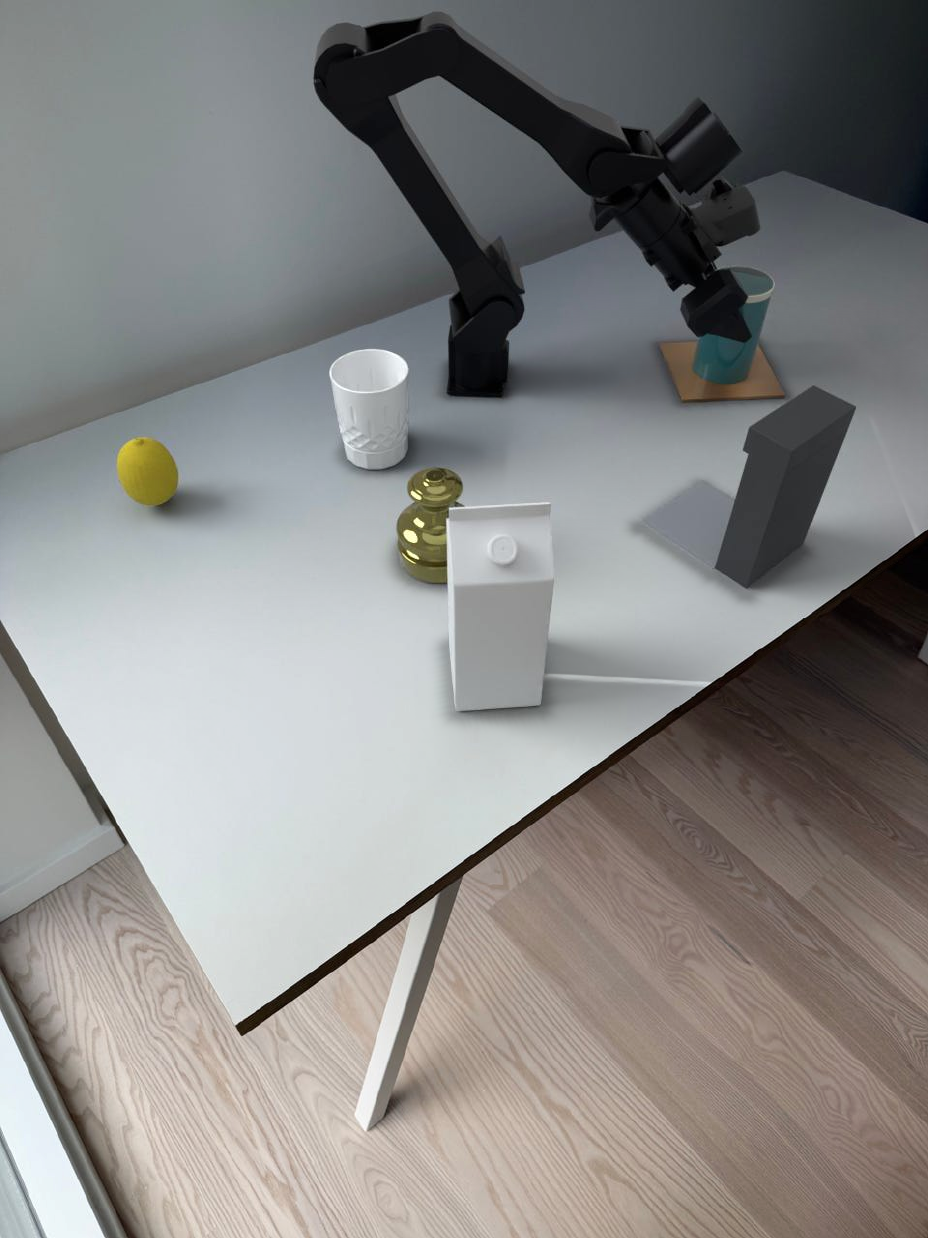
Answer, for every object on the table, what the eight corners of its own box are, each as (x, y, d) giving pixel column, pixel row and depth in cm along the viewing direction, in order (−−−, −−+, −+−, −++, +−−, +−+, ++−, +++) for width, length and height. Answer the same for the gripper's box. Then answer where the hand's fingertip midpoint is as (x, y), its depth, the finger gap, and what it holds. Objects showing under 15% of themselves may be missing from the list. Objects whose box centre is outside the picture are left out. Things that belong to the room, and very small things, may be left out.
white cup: (402, 478, 93) (397, 396, 86) (330, 468, 94) (319, 387, 87) (420, 433, 98) (416, 353, 91) (351, 425, 99) (342, 344, 92)
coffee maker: (639, 527, 88) (668, 384, 76) (701, 485, 92) (737, 344, 80) (742, 596, 82) (790, 452, 70) (803, 548, 86) (859, 404, 74)
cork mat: (682, 402, 102) (683, 399, 102) (659, 345, 110) (660, 342, 110) (784, 397, 103) (785, 394, 103) (754, 341, 111) (755, 339, 111)
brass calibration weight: (419, 595, 82) (414, 513, 75) (386, 546, 86) (378, 464, 79) (489, 569, 84) (492, 487, 77) (454, 522, 89) (453, 440, 81)
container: (732, 391, 103) (755, 303, 95) (680, 369, 106) (698, 282, 98) (761, 366, 107) (786, 278, 98) (710, 345, 110) (730, 258, 101)
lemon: (196, 492, 92) (177, 428, 86) (167, 526, 88) (145, 462, 82) (149, 481, 93) (128, 417, 87) (119, 514, 89) (94, 450, 84)
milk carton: (448, 646, 78) (445, 475, 64) (529, 641, 78) (543, 470, 64) (455, 712, 73) (452, 544, 59) (541, 706, 74) (559, 537, 59)
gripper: (750, 205, 82) (829, 312, 91) (699, 129, 95) (774, 229, 104) (652, 288, 88) (736, 381, 97) (617, 206, 100) (694, 295, 109)
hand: (736, 317), depth 101 cm, fingers open, 9 cm apart
